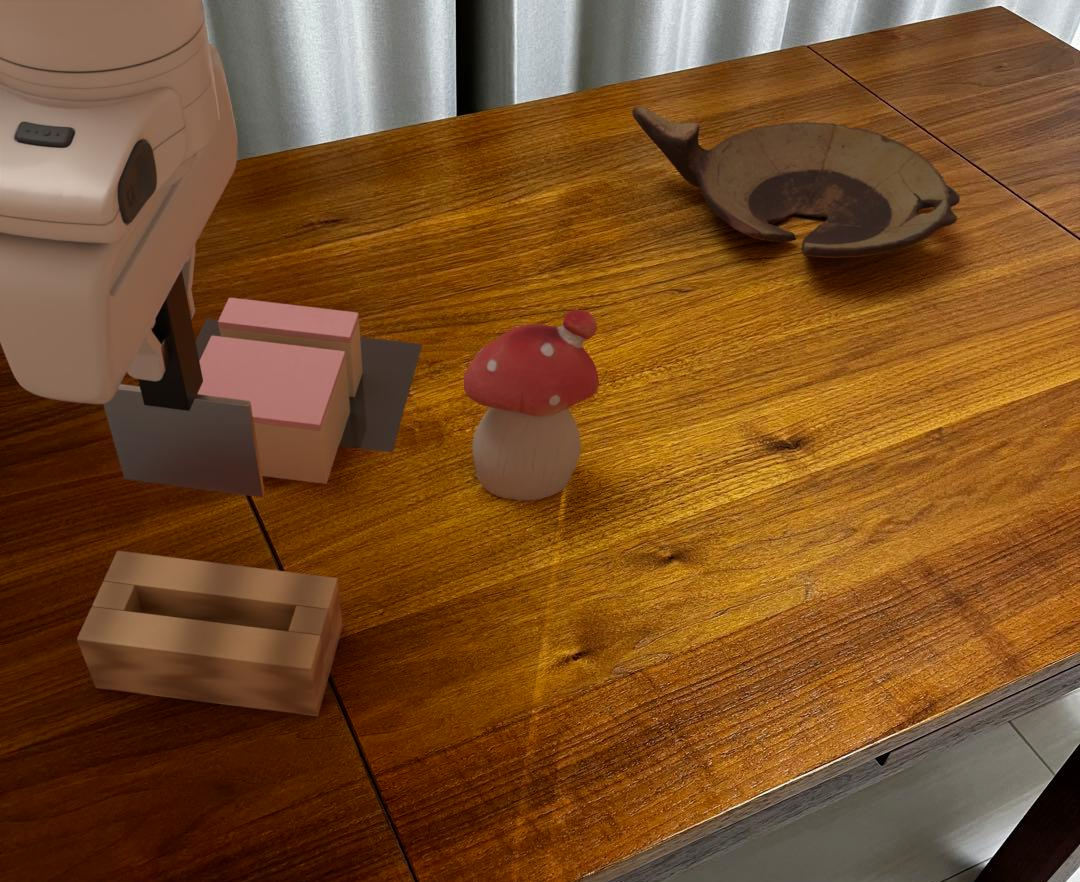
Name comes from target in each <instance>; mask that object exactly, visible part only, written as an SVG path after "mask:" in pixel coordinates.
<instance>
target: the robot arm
mask: <svg viewBox="0 0 1080 882" xmlns="http://www.w3.org/2000/svg"><path fill="white" fill-rule="evenodd" d="M204 7H205V6H204V3H203V0H0V346H1V348H2V350H3V351H2V352H3V354H4V356H5V358H6V361H7V363H8V366H9V367H10V370H11V372H12V374H13V377H14V378H15V380H16V381H17V383H18V385H20V386H21V387H22V388H23V389H24V390H25V391H27V392H29V393H31V394H33V395H34V396H38V397H41V398H45V399H50V400H55V401H62V402H68V403H79V404H88V405H103V404H105V403H108V402H109V401H110V400H112V398H113V397H114V395H115V394H116V392H117V390H118V388H119V386H120V384H122V382H123V381H124V378H125V376H126V374H128V376H130V377H131V378H133V379H135V380H138V379H142V380H149V381H159V380H161V379H162V377H163V375H164V372H165V371H166V369H167V367H168V364H169V362H170V360H171V355H170V352H169V346H168V341H167V336H161V335H154V334H153V332H152V329H151V328H153V327H154V325H155V321H156V320H155V318H156V316H157V314H158V313H159V311H160V309H161V307H162V305H163V303H164V301H165V299H166V298H167V296H168V294H169V292H170V290H171V288H172V286H173V285H174V283H175V281H176V279H177V277H178V275H179V273H180V271H181V270H182V274H183V279H184V284H185V290H186V295H187V300H188V305H189V310H190V315H191V320H193V317H194V315H195V314H196V313H195V312H196V307H195V301H194V297H193V290H192V288H193V281H194V271H195V259H196V251H197V250H196V248H197V247H196V244H197V242H198V240H199V238H200V236H201V234H202V232H203V230H204V229H205V226H207V223H208V221H209V219H210V217H211V215H212V214H213V212H214V210H215V209H216V206H217V204H218V202H219V200H220V199H221V196H222V195H223V194H224V191H225V189H226V187H227V185H228V184H229V181H230V180H231V178H232V177H233V175H234V173H235V171H236V167H237V161H238V148H239V147H238V143H239V141H238V134H237V127H236V122H235V117H234V111H233V106H232V101H231V96H230V92H229V86H228V83H227V82H228V81H227V77H226V73H225V69H224V66H223V63H222V59H221V56H220V53H219V52H218V51H217V49H216V48H215V46H214V45H213V44H211V43H209V42H210V41H209V34H208V27H207V21H206V20H207V19H206V14H205V8H204Z"/></svg>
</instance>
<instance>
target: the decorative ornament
mask: <svg viewBox="0 0 1080 882" xmlns="http://www.w3.org/2000/svg"><path fill="white" fill-rule="evenodd" d="M597 330H598V324H597V320H596V319H595V317H594V315H593V314H591V313H590V312H589V311H587V310H583V309H572V310H570V311H568V312H567V313H566V314H565V315H564V317H563V321H562V325H561V326H551V325H545V324H542V323H541V324H525V325H518V326H515V327H512V328H511V329H509V330H507V331H505V332H504V333H502V334H501V335H499V336H498V337H497V338H495V339H494V340H492V341H491V342H489V343H488V344H486V345H484V346H483V347H481V349H480V350H479V351H478V352H477V353H476V354H475V356H474V357H473V359H472V360H471V362H470V363H469V364H468V366H467V368H466V370H465V372H464V373H463V391H464V393H465V394H466V396H467V398H469V399H470V400H472V401H474V402H475V403H476V404H479V405H480V406H483V407H486V408H487V407H488V408H487V410H486V412H485V413H484V415H483V416H482V418H481V419H480V421H479V423H478V425H477V427H476V429H475V432H474V435H473V437H472V438H473V439H472V442H471V443H472V444H471V445H472V446H471V448H472V449H471V451H472V452H471V453H472V457H473V463H474V471H475V474H476V478H477V481H478V482H479V483H480V485H481V487H482V488H484V489H485V490H486V491H487V492H488V493H490V494H491V495H492V496H496V497H499V498H503V499H507V500H514V501H536V500H542V499H546V498H549V497H552V496H554V495H556V494H558V493H560V492H563V491H564V489H565V488H566V486H567V485H568V484H569V481H570V480H571V477H572V475H573V473H574V470H575V469H576V467H577V464H578V462H579V459H580V455H581V450H582V443H581V436H580V431H579V428H578V424H577V422H576V419H575V417H574V416H573V413H571V411H570V410H569V409H570V408H572V407H573V406H576V405H577V404H579V403H581V402H583V401H586V400H587V399H590V398H593V397H594V396H595V394H597V392H598V389H599V385H600V384H599V383H600V378H599V373H598V369H597V368H596V364H595V362H594V360H593V359H592V357H591V356H590V355H589V353H588V351H587V350H586V349H585V348H584V346H583V345H584V342H586V341H587V340H589V339H591V338H593V337H594V336H595V335H596V333H597Z"/></svg>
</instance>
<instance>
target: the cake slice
mask: <svg viewBox="0 0 1080 882" xmlns="http://www.w3.org/2000/svg"><path fill="white" fill-rule="evenodd" d="M217 320H218V325H219V329H220V335H221V337H229V338H237V339H245V340H254V341H262V342H271V343H279V344H287V345H296V346H304V347H313V348H321V349H330V350H338V351H345V355H346V366H347V379H348V391H349V397H355V395H356V392H357V388H358V385H359V382H360V379H361V376H362V373H363V372H362V357H361V343H360V337H361V331H360V330H361V328H360V314H359V312H355V311H348V310H338V309H330V308H323V307H314V306H306V305H297V304H289V303H280V302H271V301H262V300H254V299H247V298H238V297H237V298H236V297H228V299H227V300H226V303H225V305H224V308H223V310H222V312H221V313H220V316H219V318H218V319H217Z"/></svg>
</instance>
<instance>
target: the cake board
mask: <svg viewBox="0 0 1080 882" xmlns="http://www.w3.org/2000/svg"><path fill="white" fill-rule="evenodd" d="M218 320H219V319H214V318H206V319H205V321H204V323H203V325H202V327H201V329H200V331H199V333H198V335H197V338H195V341H196V346H197V352H198V357H199V361H200V359H201V357H202V355H203V353H204V350H205V348H206V346H207V344H208V342H209V340H210V338H211V336H220V337H221V335H220V329H219V325H218ZM360 343H361V357H362V372H363V373H362V376H361V379H360V382H359V385H358V388H357V392H356V395H355V397H349V403H350V414H349V417H348V420H347V423H346V426H345V429H344V432H343V435H342V438H341V441H340V445H339V447H344V448H352V449H353V448H354V449H360V450H368V451H369V450H370V451H375V452H377V451H378V452H385V453H393V451H394V448H395V443H396V440H397V438H398V434H399V430H400V426H401V422H402V418H403V415H404V412H405V408H406V404H407V401H408V397H409V393H410V390H411V387H412V383H413V379H414V375H415V372H416V369H417V365H418V361H419V359H420V358H419V357H420V354H421V350H422V348H423V344H422V343H418V342H417V343H416V342H407V341H399V340H391V339H382V338H373V337H366V336H360Z"/></svg>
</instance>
